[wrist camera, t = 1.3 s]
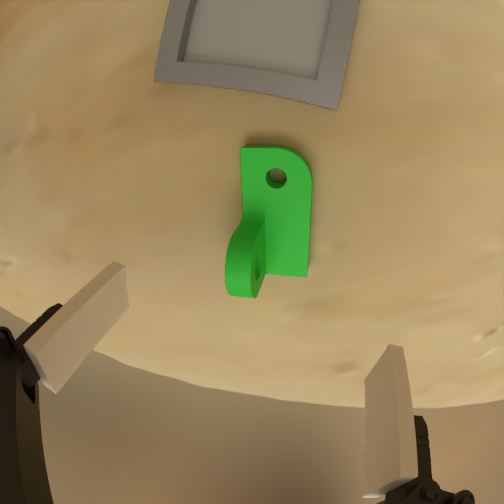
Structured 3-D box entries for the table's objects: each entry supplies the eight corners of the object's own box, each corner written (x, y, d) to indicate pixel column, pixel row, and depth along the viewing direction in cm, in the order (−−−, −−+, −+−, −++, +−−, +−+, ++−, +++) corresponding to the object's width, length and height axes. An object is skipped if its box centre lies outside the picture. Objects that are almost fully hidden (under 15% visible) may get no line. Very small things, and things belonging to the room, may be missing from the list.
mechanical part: (307, 266, 30) (300, 317, 23) (250, 261, 31) (227, 308, 24) (313, 146, 24) (309, 162, 17) (246, 145, 25) (216, 160, 19)
